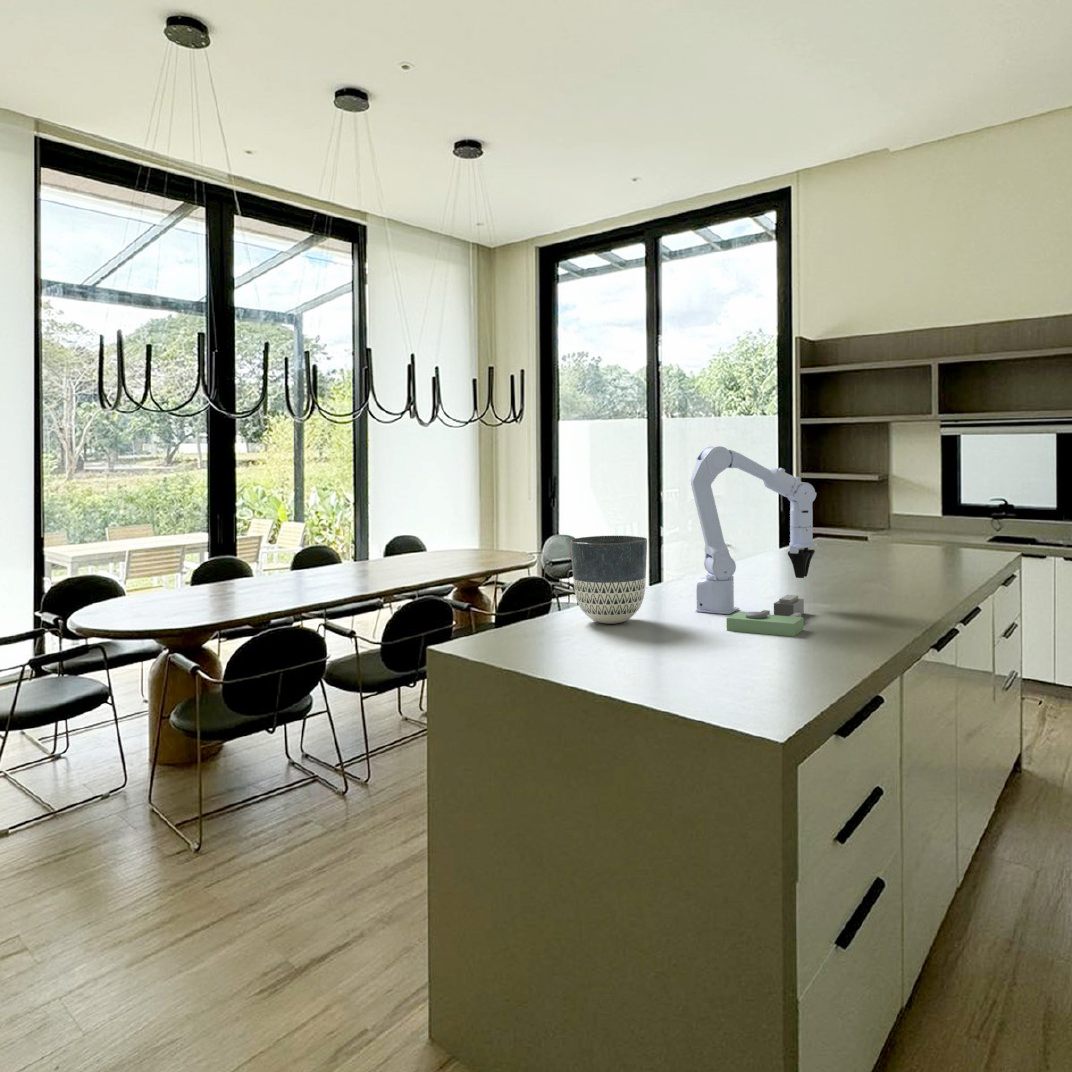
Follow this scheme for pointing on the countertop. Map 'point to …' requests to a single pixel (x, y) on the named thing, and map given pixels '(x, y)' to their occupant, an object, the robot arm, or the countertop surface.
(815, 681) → the countertop surface
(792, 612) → the stepped grey block
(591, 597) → the planter
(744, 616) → the deck
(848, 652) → the countertop surface
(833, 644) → the countertop surface
